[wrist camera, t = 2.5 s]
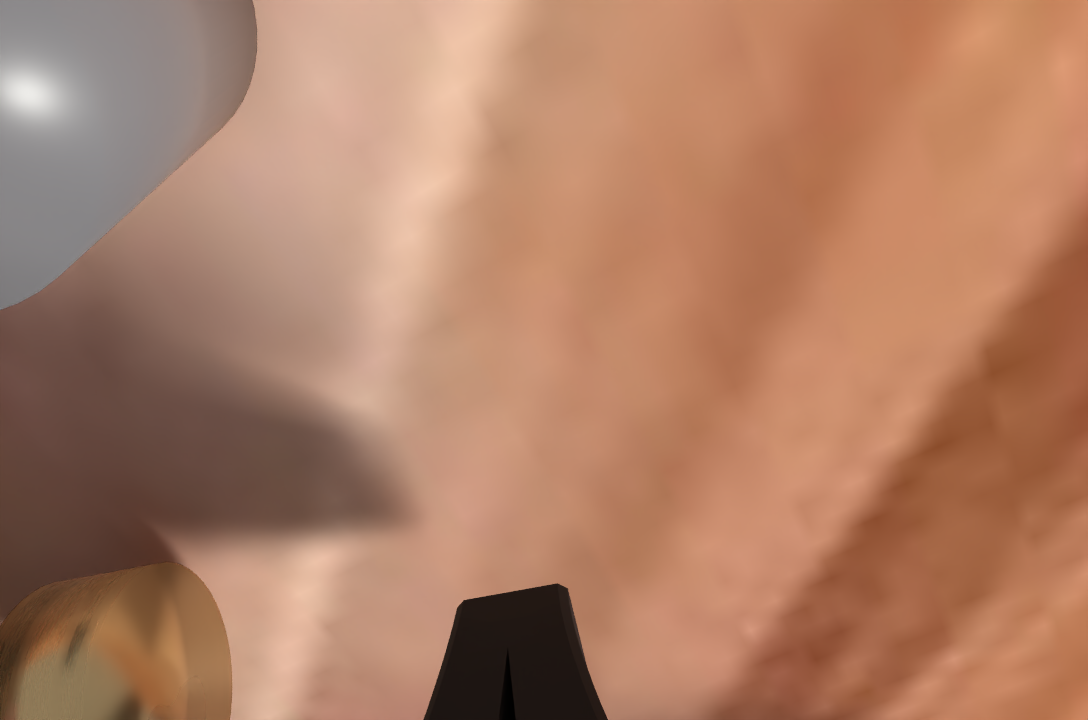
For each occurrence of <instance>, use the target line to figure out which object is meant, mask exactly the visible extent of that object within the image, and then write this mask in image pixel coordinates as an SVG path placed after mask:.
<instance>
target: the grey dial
mask: <svg viewBox="0 0 1088 720" xmlns="http://www.w3.org/2000/svg"><path fill="white" fill-rule="evenodd" d="M256 53H257V25H256V18H255V10H254V5H253V1H252V0H0V310H1V309H4V308H7V307H9V306H12V305H15V304H17V303H20V302H22V301H23V300H25V299H27V298H29V297H31V296H32V295H34V294H36V293H38V292H40V291H41V290H42V289H44V288H45V287H46V286H47V285H49V284H50V283H51V282H52V281H54V280H55V279H56V278H57V277H59V276H60V275H61V274H62V273H63V272H64V271H65V270H67V269H68V268H69V267H70V266H71V265H72V264H73V263H74V262H75V261H76V260H78V259H79V258H80V257H81V256H82V255H83V254H84V253H85V252H86V251H87V250H89V249H90V248H91V247H92V246H93V245H94V244H95V243H96V242H97V241H98V240H100V239H101V238H102V237H103V236H104V235H105V234H106V233H107V232H108V231H109V230H111V229H112V228H113V227H114V226H115V225H116V224H117V223H118V222H119V221H120V220H122V219H123V218H124V217H125V216H126V215H127V214H128V213H129V212H130V211H131V210H133V209H134V208H135V207H136V206H137V205H138V204H139V203H140V202H141V201H142V200H144V199H145V198H146V197H147V196H148V195H149V194H150V193H151V192H152V191H153V190H155V189H156V188H157V187H158V186H159V185H160V184H161V183H162V182H163V181H164V180H166V179H167V178H168V177H169V176H170V175H171V174H172V173H173V172H174V171H175V170H177V169H178V168H179V167H180V166H181V165H182V164H183V163H184V162H185V161H186V160H188V159H189V158H190V157H191V156H192V155H193V154H194V153H195V152H196V151H197V150H199V149H200V148H201V147H202V146H203V145H204V144H205V143H206V142H207V141H208V140H210V139H211V138H212V137H213V136H214V135H215V134H216V133H217V132H218V131H219V130H221V129H222V128H223V127H224V125H225V124H226V123H227V122H228V121H229V120H230V119H231V118H232V117H233V115H234V114H235V112H236V111H237V109H238V108H239V106H240V105H241V103H242V101H243V99H244V97H245V95H246V92H247V90H248V88H249V86H250V82H251V79H252V75H253V72H254V68H255V61H256Z"/></svg>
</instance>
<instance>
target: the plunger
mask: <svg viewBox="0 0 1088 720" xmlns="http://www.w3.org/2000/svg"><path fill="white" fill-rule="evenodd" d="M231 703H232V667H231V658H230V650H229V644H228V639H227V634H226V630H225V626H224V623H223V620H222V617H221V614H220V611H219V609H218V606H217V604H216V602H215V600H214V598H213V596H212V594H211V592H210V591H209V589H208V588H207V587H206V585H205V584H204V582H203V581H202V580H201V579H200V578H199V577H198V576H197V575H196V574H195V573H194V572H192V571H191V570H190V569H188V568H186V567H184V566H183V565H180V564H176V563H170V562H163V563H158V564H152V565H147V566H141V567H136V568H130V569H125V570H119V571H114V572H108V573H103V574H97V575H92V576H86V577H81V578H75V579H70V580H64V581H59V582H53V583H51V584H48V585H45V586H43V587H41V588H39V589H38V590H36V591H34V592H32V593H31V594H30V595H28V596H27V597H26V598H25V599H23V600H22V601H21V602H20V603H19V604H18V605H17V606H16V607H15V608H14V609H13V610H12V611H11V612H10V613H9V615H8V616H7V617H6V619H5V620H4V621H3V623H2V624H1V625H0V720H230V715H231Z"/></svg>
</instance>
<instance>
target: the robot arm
mask: <svg viewBox="0 0 1088 720" xmlns="http://www.w3.org/2000/svg"><path fill="white" fill-rule="evenodd" d="M424 720H608V719H607V717H606V714H605V712H604V710H603V707H602V705H601V703H600V700H599V698H598V695H597V693H596V690H595V688H594V685H593V682H592V680H591V677H590V674H589V671H588V668H587V665H586V661H585V657H584V653H583V649H582V645H581V641H580V637H579V633H578V628H577V624H576V620H575V616H574V612H573V608H572V604H571V600H570V596H569V592H568V588H566V587H564V586H562V585H560V584H552V585H547V586H541V587H535V588H530V589H524V590H519V591H513V592H507V593H502V594H496V595H491V596H485V597H479V598H474V599H468V600H464V601H463V602H462V603H461V604H460V605H459V606H458V608H457V611H456V615H455V619H454V623H453V627H452V631H451V635H450V638H449V642H448V646H447V649H446V653H445V656H444V659H443V663H442V666H441V669H440V672H439V675H438V679H437V682H436V685H435V688H434V691H433V694H432V697H431V700H430V703H429V706H428V709H427V712H426V714H425V717H424Z"/></svg>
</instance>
